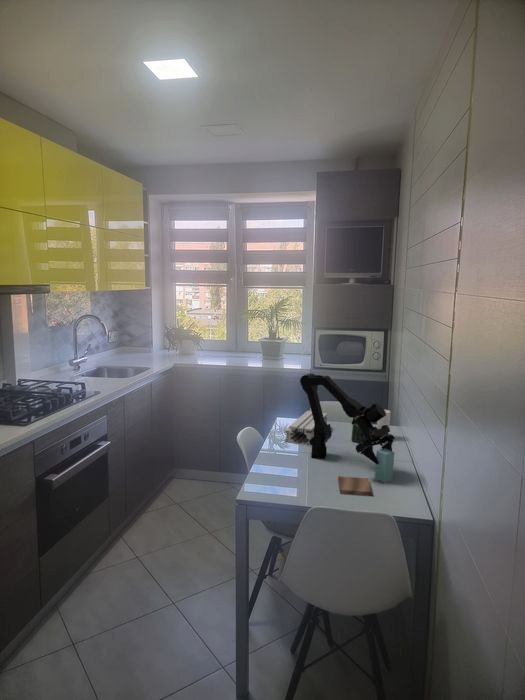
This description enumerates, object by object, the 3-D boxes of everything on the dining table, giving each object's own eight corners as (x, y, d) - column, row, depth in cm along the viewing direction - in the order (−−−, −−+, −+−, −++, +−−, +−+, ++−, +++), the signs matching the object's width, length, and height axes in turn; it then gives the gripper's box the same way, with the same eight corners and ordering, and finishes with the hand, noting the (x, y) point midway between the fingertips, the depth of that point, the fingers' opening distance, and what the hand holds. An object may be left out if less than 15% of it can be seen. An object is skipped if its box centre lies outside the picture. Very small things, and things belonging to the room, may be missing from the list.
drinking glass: (386, 441, 222) (388, 413, 220) (374, 438, 226) (375, 411, 224) (390, 437, 228) (392, 410, 226) (377, 435, 231) (379, 408, 229)
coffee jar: (370, 439, 224) (372, 405, 222) (368, 444, 217) (371, 409, 214) (352, 437, 228) (354, 403, 225) (349, 442, 220) (351, 407, 218)
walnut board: (339, 493, 165) (340, 489, 165) (338, 479, 177) (338, 476, 177) (371, 495, 164) (371, 492, 163) (367, 481, 175) (368, 478, 175)
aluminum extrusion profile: (284, 442, 219) (284, 423, 217) (302, 425, 247) (303, 408, 245) (310, 447, 213) (311, 427, 212) (326, 429, 241) (327, 411, 240)
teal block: (384, 482, 175) (386, 454, 173) (375, 477, 179) (376, 450, 177) (392, 479, 178) (394, 452, 176) (383, 475, 182) (384, 448, 180)
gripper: (361, 422, 174) (381, 457, 167) (392, 415, 184) (412, 448, 177) (347, 435, 182) (365, 469, 174) (377, 428, 192) (395, 460, 184)
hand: (385, 461), depth 177 cm, fingers open, 9 cm apart
